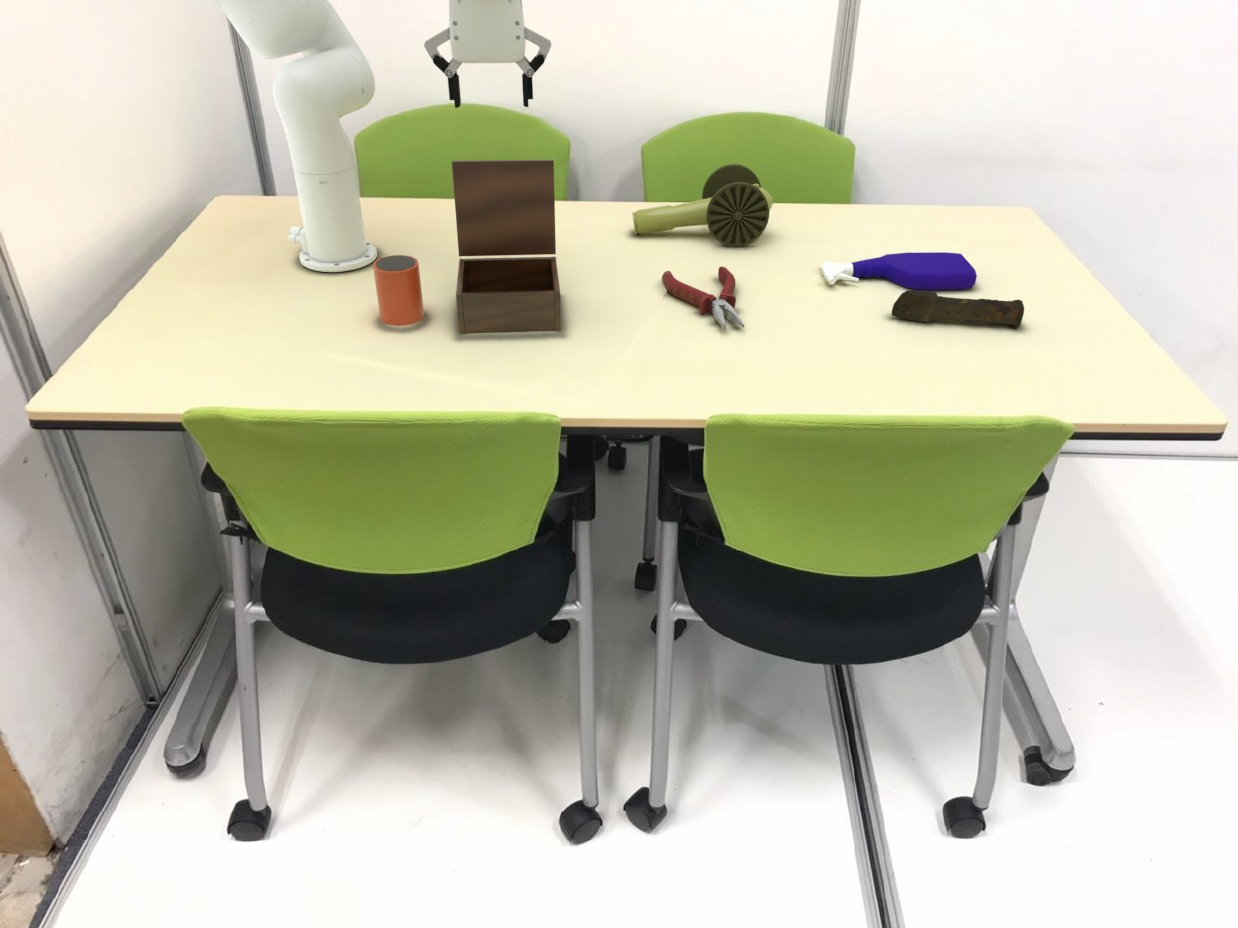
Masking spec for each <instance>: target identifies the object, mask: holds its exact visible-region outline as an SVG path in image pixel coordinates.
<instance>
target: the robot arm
mask: <svg viewBox="0 0 1238 928" xmlns="http://www.w3.org/2000/svg"><path fill="white" fill-rule="evenodd" d="M215 2H216V3H217V4H218V6H219V7H220V9H221V11H222V12H223V13H224V14H225V16H226V17H227V19H228V20H229V22H230V24H231V25H232V27H233V28H234V30H235V31H236V32H237V34H238V35H239V37H240V38H241V39H242V41H243V42H244V43H245V45H246V47H248V49H250V51H251V52H252V53H253V54H254V55H256V56H258V57H260V58H261V59H266V60H276V59H280V58H284V57H288V56H292V55H296V54H299V53H301V54H302V56H303V57H300V58H296V59H294V60H292V61H289V62H288V63H286V64H284V65H283V66H282V67H281V68H280V69H279V70H278V72H277V73H276V75H275V77H274V79H273V82H272V96H273V101H274V105H275V108H276V111H277V113H278V115H279V118H280V120H281V123H282V127H283V130H284V132H285V136H286V140H287V144H288V150H289V153H290V154H289V155H290V160H291V164H292V168H293V175H294V180H295V185H296V190H297V197H298V202H299V208H300V214H301V218H302V220H301V221H302V224H303V227H300V226H291V227H290V228H289V234H288V237H287V240H288V242H289V243H292V244H300V245H301V251H300V252H299V255H298V257H299V262H300V264H301V265H302V266H304V267H305V268H307V269H309V270H311V271H316V272H323V273H342V272H350V271H353V270H358V269H360V268H364V267H366V266H368V265H370V264H372V263H374V262H375V261H376V260H377V257H378V251H377V247H376V245H374V244H373V243H372V242H370V241H367V239H366V233H365V226H364V218H363V212H362V205H361V197H360V191H359V190H360V189H359V184H358V176H357V170H356V163H355V157H354V150H353V147H352V143H351V141H350V138H349V137H348V135H347V134H346V131H345V130H344V128H343V126H342V124H341V121H340V118H343V117H344V116H347V115H350V114H352V113H354V112H356V111H359V110H361V109H363V108H364V107H366V106H367V105H368V104H370V103H371V101H372V100H373V97H374V95H375V90H376V81H375V80H376V79H375V76H374V75H375V74H374V72H373V69H372V67H371V65H370V63H369V61H368V59H367V57H366V56H365V54H364V53H363V51H362V50H361V48H360V46H359V44H358V43H357V42H356V40H355V39H354V37H353V35H352V34H351V32H350V31H349V30H348V28H347V25H346V24H345V23H344V22H343V20H342V19H341V17H340V15H339V14H338V12H337V11H336V9H335V8H334V6H333V5H332V3H331V2H330V1H329V0H215ZM448 18H449V19H448V22H449V26H448V27H447V28H445V29H443V30H442V31H441V32H438V33H437V34H435V35H433V36H431V37H430V38H428V39H426V40H425V41H424V44H423V46H424V49H425V51H426V52H427V54H428V56H429V57H430V59H431V61H432V64H434V65H435V67H437V69H439V70H440V71H441V72H442V73H443V74H444V75H445V77H446V78H447V87H448V96H449V97H448V98H449V101H454V102H453V103H454V108H455V109H459V108H460V107H461V105H462V104H461V103H462V98H461V97H462V96H461V87H460V86H461V85H460V75H459V74H458V70H459V68H460V67H461V66H462V64H514V63H515V64H516V65H517V66H518V67H519V68H520V70H521V71H522V72H523V73H522V74H521V82H522V83H521V84H522V104H523V107H524V108H529V100H534V88H533V87H534V86H533V85H534V84H533V76H534V75H535V74H536V72H537V71H538V70H540V68H541V67H542V66H543V65H544V63H545V61H546V58H547V57H548V54H549V52H550V50H551V48H552V41H551V40H550V39H549V38H547V37H545V36H543V35H541V34H540V33H538V32H535V31H534V30H532V29H530V28H528V27H526V26H525V19H524V7H523V1H522V0H448ZM448 41H449V43H450V51H451V56H452V58H451V59H450V60H449V61H447V59H445V58H444V57H443V56H442V55H441V54H440V51H439V49H438V47H440V46H441V45H443V44H445V43H447V42H448ZM526 41H529V42H530V43H532V44H534V45H536V46H538V52H537V53H536V55H535V56H534V57H533V58H532V59H531V60H530V61H529V59H528V58H527V56H525V55H526Z"/></svg>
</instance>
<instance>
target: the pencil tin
mask: <svg viewBox="0 0 1238 928" xmlns="http://www.w3.org/2000/svg"><path fill="white" fill-rule="evenodd" d="M372 263H373V264H372V269H373V275H374V276H373V277H374V284H375V291H376V296H377V305H378V312H379V319H380V321H381V322H382V323H384V324H387V325H390V326H396V327H397V326H409V325H413V324H415V323H418V322H419V321H421V320H423V318H425V309H424V302H423V301H424V300H423V291H422V284H421V283H422V281H421V272H420V263H419V260H418V259H417V258H416V257H413V256H411V255H404V254H393V255H386V256H383V257H380V258H378V259H375V260H374V261H373V262H372Z"/></svg>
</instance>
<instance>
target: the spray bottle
mask: <svg viewBox="0 0 1238 928" xmlns="http://www.w3.org/2000/svg"><path fill="white" fill-rule="evenodd" d="M820 271H821V273H822V275H823V277H824V279H825V281H826V282H828V284H829V285H834V284H835V283H836V282H837V281H839V280H845V281H854V282H859V281H860V279H859V278H861V277H862V278H884V279H885V278H886V279H887V280H889V281H891V283H894V284H896V285H898V286H901V287H903V288H905V289H909V290H920V291H959V290H961V291H962V290H969V289H972V288H973V287H974V286H975V285H976V283H977V282H976V281H977V277H978V275H977V271H976V269H975V268H974V266H972V264H971V263H970V262H969V261H968V260H967V259H966V257H965V256H964V255H963V254H962V253H957V252H945V251H943V252H942V251H940V252H939V251H937V252H931V251H929V252H899V253H888V254H884V255H881V256H878V257H873V258H868V259H862V260H858V261H853V262H850V263H849V262H848V263H846V262H845V263H843V262H832V261H830V260H825V261H824V262H823V263H822V265H821V267H820Z"/></svg>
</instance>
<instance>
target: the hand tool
mask: <svg viewBox="0 0 1238 928" xmlns="http://www.w3.org/2000/svg"><path fill="white" fill-rule="evenodd" d="M890 315H891V316H893V317H895V318H899V319H902V320H907V321H915V322H921V323H925V324H927V323H930V322H931V321H934V320H942V321H943V320H946V321H957V322H961V321H963V322H973V323H987V324H993V325H994V324H996V325H1011V326H1013V327H1014V329H1018V328H1019V327H1020V326H1021V325H1022V321H1023V319H1024V315H1025V305H1024V302H1023V300H1021V299H1013V300H999V299H991V298H977V299H975V298H961V297H951V296H950V297H949V296H942V295H938V293H937V292H936V291H934V290H915V289H908V290H905V291H904V292H901V294H900V295H899V297H898V298H896V300H895V301H894V303H893V304H892V309H891V314H890Z"/></svg>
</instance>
